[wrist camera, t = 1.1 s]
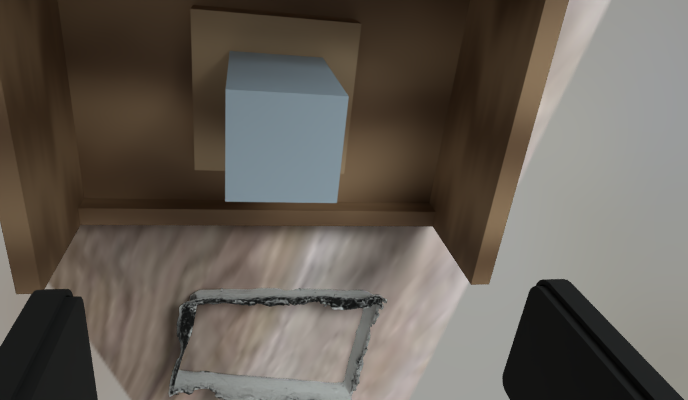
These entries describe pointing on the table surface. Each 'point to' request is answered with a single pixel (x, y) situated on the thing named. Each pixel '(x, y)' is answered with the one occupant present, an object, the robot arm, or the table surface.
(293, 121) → the block
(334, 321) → the table surface
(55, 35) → the crate
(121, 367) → the table surface
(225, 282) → the table surface
